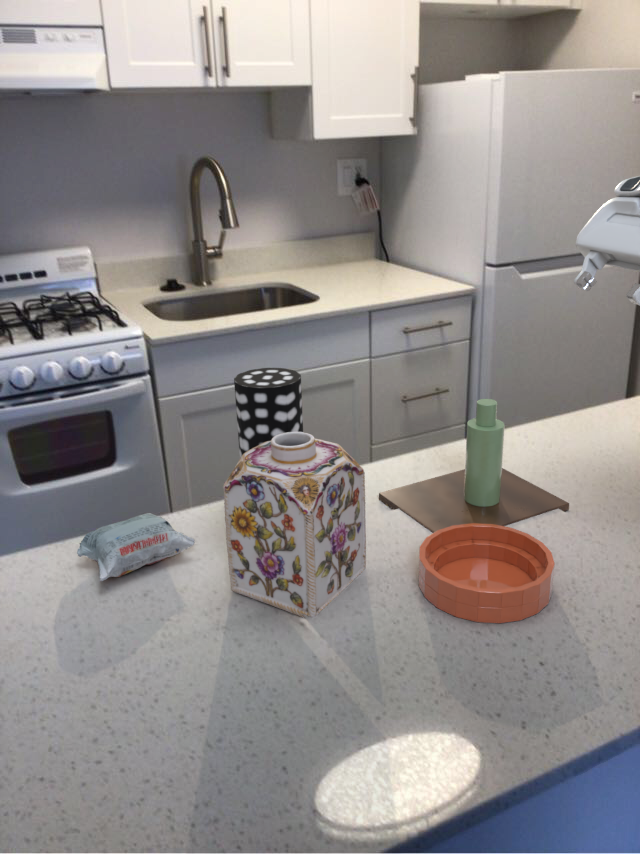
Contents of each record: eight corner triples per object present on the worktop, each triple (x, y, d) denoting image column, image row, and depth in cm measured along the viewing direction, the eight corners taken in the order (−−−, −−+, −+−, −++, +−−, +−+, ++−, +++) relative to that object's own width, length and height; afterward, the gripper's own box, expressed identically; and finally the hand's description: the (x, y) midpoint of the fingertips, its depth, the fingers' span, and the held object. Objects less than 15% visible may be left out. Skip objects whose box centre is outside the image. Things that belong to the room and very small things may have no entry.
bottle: (484, 488, 106) (489, 393, 101) (507, 501, 102) (513, 403, 97) (456, 496, 104) (460, 400, 99) (479, 510, 100) (484, 410, 95)
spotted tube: (253, 504, 106) (243, 367, 98) (311, 507, 104) (306, 368, 97) (237, 533, 98) (225, 387, 91) (300, 537, 97) (293, 388, 89)
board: (490, 467, 115) (490, 461, 114) (569, 509, 101) (569, 503, 101) (378, 499, 106) (378, 492, 106) (448, 549, 93) (448, 542, 92)
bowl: (491, 544, 93) (493, 512, 92) (579, 603, 82) (583, 567, 80) (393, 577, 87) (394, 543, 86) (473, 646, 75) (475, 608, 74)
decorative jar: (313, 625, 79) (307, 469, 73) (227, 593, 85) (214, 446, 79) (369, 571, 89) (368, 429, 82) (288, 546, 95) (281, 411, 88)
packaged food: (196, 560, 92) (192, 524, 90) (102, 595, 86) (96, 557, 84) (165, 533, 99) (161, 499, 97) (76, 564, 92) (70, 528, 91)
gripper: (770, 230, 81) (684, 329, 82) (636, 214, 99) (566, 295, 100) (745, 189, 78) (656, 292, 79) (611, 180, 96) (540, 264, 97)
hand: (605, 294), depth 89 cm, fingers open, 8 cm apart
